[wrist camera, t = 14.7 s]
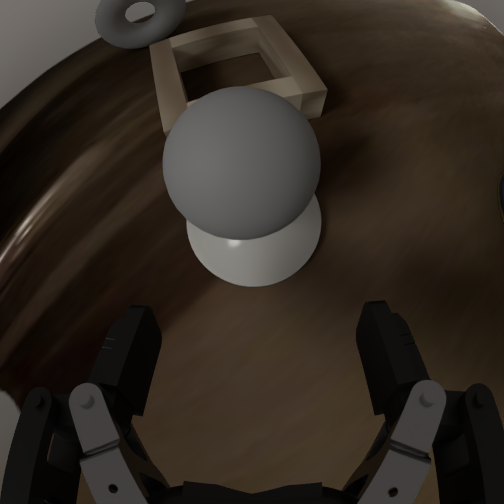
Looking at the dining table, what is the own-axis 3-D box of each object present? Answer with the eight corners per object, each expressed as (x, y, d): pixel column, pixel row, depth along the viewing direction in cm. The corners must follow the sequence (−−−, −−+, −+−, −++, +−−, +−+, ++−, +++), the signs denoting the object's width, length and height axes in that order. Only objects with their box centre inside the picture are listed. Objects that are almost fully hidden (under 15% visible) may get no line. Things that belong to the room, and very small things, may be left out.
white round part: (209, 304, 18) (207, 304, 18) (177, 185, 20) (174, 180, 19) (337, 262, 18) (340, 260, 18) (292, 150, 20) (293, 144, 19)
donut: (191, 24, 24) (175, -40, 15) (195, 36, 24) (178, -33, 14) (114, 51, 24) (84, -5, 14) (112, 66, 24) (78, 6, 14)
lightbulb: (282, 278, 18) (310, 240, 7) (192, 250, 18) (106, 183, 7) (307, 192, 19) (347, 76, 8) (222, 169, 19) (186, 48, 8)
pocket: (177, 156, 21) (163, 132, 17) (159, 68, 23) (149, 45, 19) (320, 117, 21) (327, 89, 17) (270, 39, 23) (271, 14, 20)
